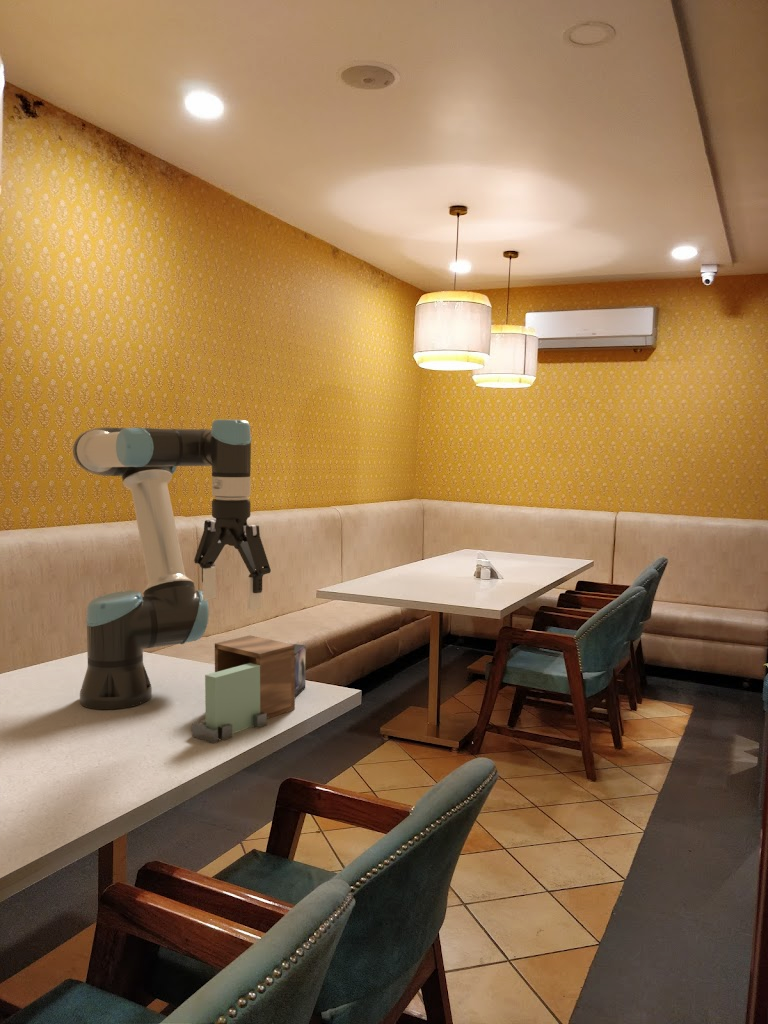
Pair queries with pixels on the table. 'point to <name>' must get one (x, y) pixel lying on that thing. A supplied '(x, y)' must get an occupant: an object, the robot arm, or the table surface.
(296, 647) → the small box
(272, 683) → the cabinet
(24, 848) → the table surface
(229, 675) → the door
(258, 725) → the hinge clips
